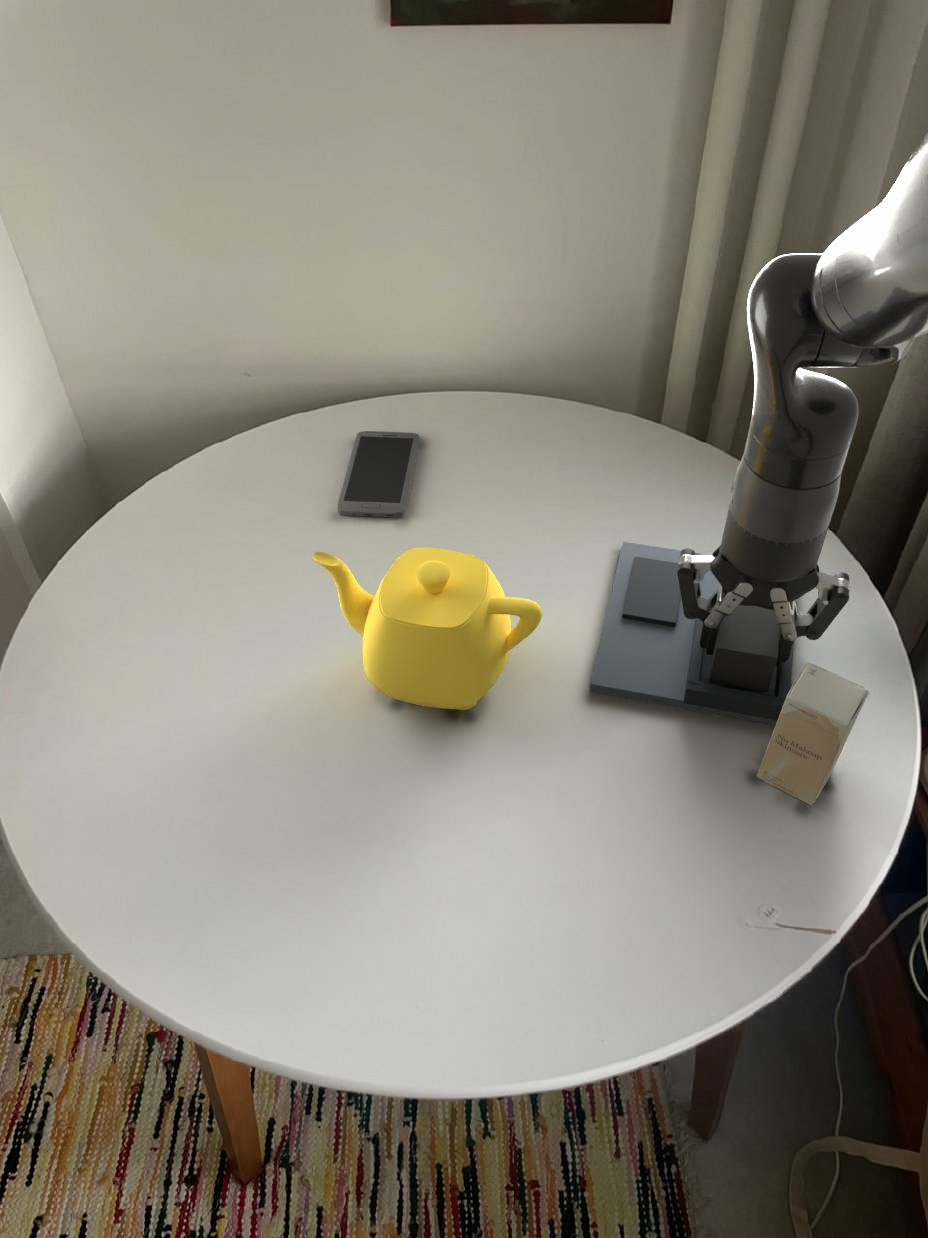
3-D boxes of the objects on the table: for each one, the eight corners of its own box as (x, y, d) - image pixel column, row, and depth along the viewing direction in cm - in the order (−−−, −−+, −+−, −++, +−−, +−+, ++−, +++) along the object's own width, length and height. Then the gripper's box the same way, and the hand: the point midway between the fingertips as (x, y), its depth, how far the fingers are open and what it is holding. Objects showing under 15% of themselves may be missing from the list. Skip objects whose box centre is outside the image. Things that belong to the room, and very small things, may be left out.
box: (754, 777, 85) (781, 693, 77) (776, 742, 87) (805, 657, 79) (815, 809, 83) (849, 726, 75) (836, 772, 85) (871, 687, 77)
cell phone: (336, 515, 108) (335, 510, 108) (357, 435, 118) (357, 429, 117) (405, 518, 108) (404, 513, 107) (421, 437, 117) (420, 431, 117)
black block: (772, 633, 93) (782, 598, 89) (767, 692, 88) (778, 658, 85) (716, 624, 93) (723, 589, 90) (708, 682, 89) (716, 647, 86)
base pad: (794, 575, 101) (801, 553, 98) (784, 729, 88) (792, 708, 86) (622, 548, 104) (624, 526, 102) (588, 693, 91) (591, 671, 89)
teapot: (352, 597, 100) (337, 499, 91) (553, 631, 96) (558, 534, 87) (303, 702, 92) (281, 606, 82) (522, 745, 88) (524, 649, 79)
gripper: (679, 524, 77) (654, 671, 89) (880, 554, 74) (825, 701, 86) (690, 462, 82) (665, 610, 94) (879, 488, 79) (827, 636, 91)
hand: (742, 653), depth 90 cm, fingers closed on black block, 5 cm apart
